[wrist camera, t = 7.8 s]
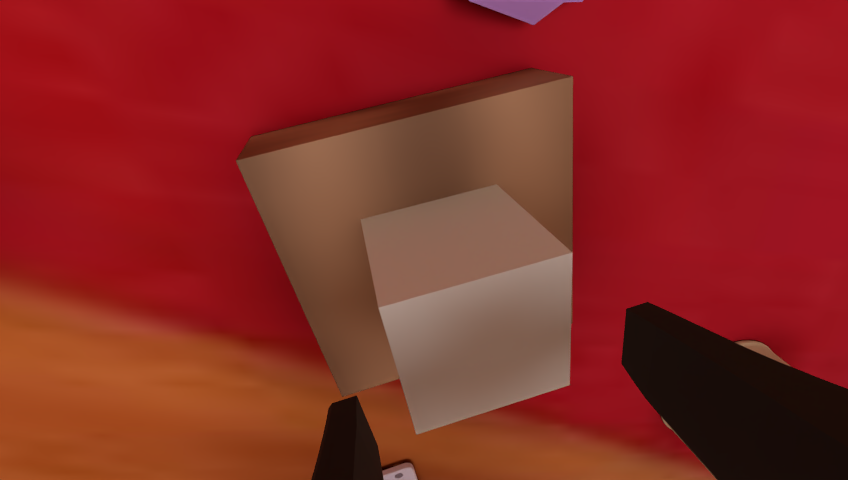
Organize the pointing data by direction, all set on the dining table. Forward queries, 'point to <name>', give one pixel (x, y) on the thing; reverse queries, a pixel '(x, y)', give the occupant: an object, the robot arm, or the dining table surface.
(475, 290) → the cube
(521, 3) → the figurine
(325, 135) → the plinth
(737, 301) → the dining table surface
